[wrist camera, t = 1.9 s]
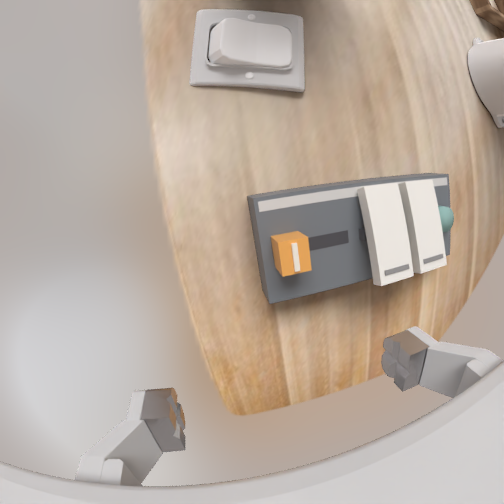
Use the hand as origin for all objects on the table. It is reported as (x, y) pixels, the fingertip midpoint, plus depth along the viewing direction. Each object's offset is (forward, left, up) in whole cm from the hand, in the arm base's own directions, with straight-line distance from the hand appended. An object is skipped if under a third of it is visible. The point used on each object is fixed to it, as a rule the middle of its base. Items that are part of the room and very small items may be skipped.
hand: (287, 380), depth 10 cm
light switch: (-6, -22, -24) cm, 33 cm away
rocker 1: (-16, +1, -18) cm, 23 cm away
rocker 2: (-21, +1, -18) cm, 27 cm away
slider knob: (-5, +1, -19) cm, 20 cm away
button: (-26, +1, -19) cm, 32 cm away
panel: (-16, +1, -23) cm, 28 cm away
